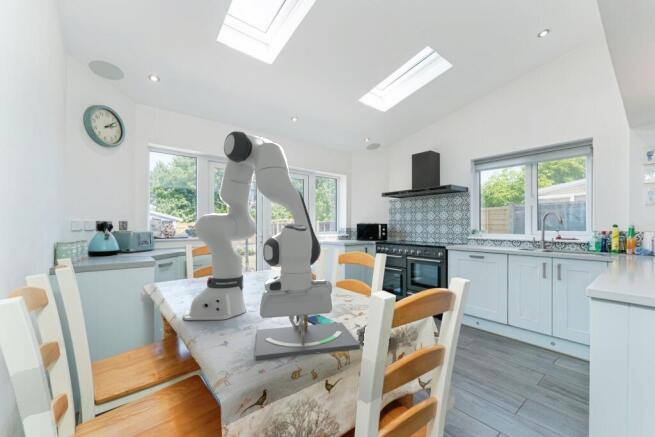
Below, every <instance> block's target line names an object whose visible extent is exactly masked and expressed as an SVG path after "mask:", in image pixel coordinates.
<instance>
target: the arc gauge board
mask: <svg viewBox="0 0 655 437" xmlns="http://www.w3.org/2000/svg"><path fill="white" fill-rule="evenodd" d="M255 342H256V344H255V354H254V355H255V356H254V357H255V358H254V360H255V361H257V360H265V359H267V360H268V359H274V358H275V359H276V358H283V357H290V356H299V355H300V356H301V354H302V355H308V354H310V353H311V354H317V352H320V353H328V352H327V351H329V352H335V351H344V350H355V349H360V347H361V343H360V342H359V341H358V339H357V340H356V338H355V337H354V335H353V334H352V333H351V332H350V331H349V329H348V328H347V327H346V325H345V324H344V323H343V322H337V323H329V324H318V325H313V324H310V325H309V324H308V328H307V329H305V345H302V342H301V330H300V331H296V332H293V326H286V327H275V328H273V327H272V328H263V329H257V330H256V340H255Z"/></svg>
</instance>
